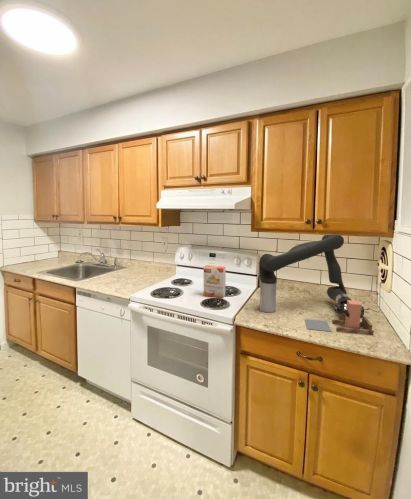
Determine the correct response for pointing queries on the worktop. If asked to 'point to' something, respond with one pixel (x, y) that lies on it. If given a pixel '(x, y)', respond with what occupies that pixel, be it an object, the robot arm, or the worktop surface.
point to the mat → (317, 325)
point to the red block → (353, 314)
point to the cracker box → (214, 281)
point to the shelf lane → (364, 324)
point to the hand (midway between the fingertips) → (354, 316)
